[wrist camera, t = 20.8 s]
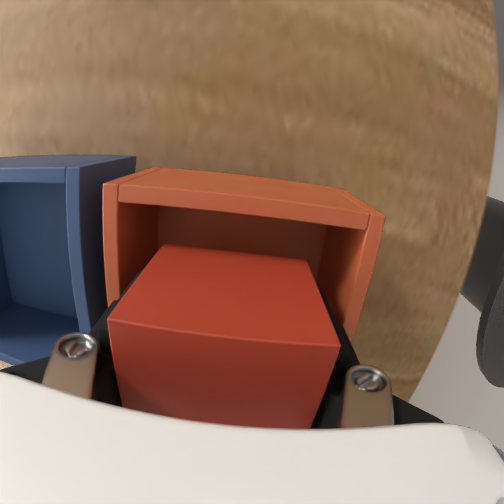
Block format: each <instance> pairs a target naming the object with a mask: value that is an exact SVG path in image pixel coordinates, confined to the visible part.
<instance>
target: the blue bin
mask: <svg viewBox="0 0 504 504" xmlns="http://www.w3.org/2000/svg"><path fill="white" fill-rule="evenodd" d="M135 165H136V156H121V155H39V156H16V157H0V360H2V361H4V362H7V363H9V364H11V365H14V366H15V365H19V364H23V363H27V362H30V361H34V360H38V359H41V358H45V357H49V356H50V355H51V352H52V349H53V346H54V344H55V342H56V340H58V339H59V338H60V337H61V336H63V335H65V334H68V333H72V332H83V333H87V334H89V333H90V331H91V330H92V328H93V327H94V326H95V324H96V323H97V322H98V320H99V319H100V318H101V316H102V315H103V314H104V312H105V311H106V310H107V308H108V302H107V291H106V279H105V265H104V246H103V184H104V183H106V182H109V181H112V180H115V179H118V178H121V177H124V176H127V175H130V174H133V173H135Z"/></svg>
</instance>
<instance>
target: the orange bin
mask: <svg viewBox="0 0 504 504" xmlns="http://www.w3.org/2000/svg"><path fill="white" fill-rule="evenodd" d="M385 218H386V216H385V215H383V214H382V213H380V212H379V211H377V210H376V209H374V208H372V207H371V206H369V205H368V204H366V203H364V202H363V201H361V200H359V199H358V198H356V197H354V196H353V195H351V194H349V193H348V192H346V191H345V190H343V189H340V188H334V187H328V186H321V185H315V184H308V183H301V182H295V181H287V180H280V179H272V178H265V177H256V176H248V175H239V174H230V173H220V172H210V171H199V170H187V169H174V168H159V167H152V168H149V169H146V170H143V171H140V172H136V173H133V174H130V175H127V176H124V177H121V178H118V179H115V180H112V181H109V182H106V183H104V184H103V246H104V265H105V279H106V291H107V302H108V307H109V306H110V304H111V303H112V302H113V301H114V300H118V299H119V297H120V296H121V295H122V293H123V292H124V291H125V289H126V288H127V287H128V286H129V284H130V283H131V282H132V280H133V279H134V278H135V276H136V275H137V274H138V273H139V271H140V270H144V268H145V267H146V266H147V265H148V263H149V262H150V261H151V259H152V258H153V257H154V256H155V254H156V253H157V252H158V251H159V249H160V248H161V247H162V246H163V244H173V245H182V246H191V247H199V248H208V249H217V250H226V251H235V252H244V253H253V254H261V255H270V256H279V257H288V258H297V259H305V260H306V261H307V263H308V265H309V268H310V270H311V272H312V275H313V277H314V280H315V282H316V284H317V287H318V289H319V290H320V291H324V293H325V295H326V298H327V300H328V302H329V305H330V307H331V309H332V311H333V314H334V316H335V319H336V321H337V323H338V325H341V326H343V327H344V329H345V331H346V333H347V335H348V338H349V340H350V342H352V339H353V336H354V333H355V330H356V326H357V323H358V320H359V317H360V314H361V311H362V307H363V304H364V301H365V297H366V294H367V290H368V287H369V283H370V280H371V276H372V272H373V268H374V265H375V261H376V257H377V253H378V249H379V245H380V241H381V236H382V232H383V228H384V223H385Z"/></svg>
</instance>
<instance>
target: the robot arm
mask: <svg viewBox="0 0 504 504" xmlns="http://www.w3.org/2000/svg"><path fill="white" fill-rule="evenodd" d="M142 271H143V270H140V271H139V273H138V274H137V275H136V276H135V278H134V279H133V280H132V282H131V283H130V284H129V286H128V287H127V288H126V289H125V291H124V292H123V293H122V295H121V296H120V297H119V299H118V300H114V301H113V302H112V303H111V304H110V306H109V307H108V308H107V310H106V311H105V312H104V314H103V315H102V316H101V318H100V319H99V320H98V322H97V323H96V324H95V326H94V327H93V328H92V330H91V331H90V333H89V334H87V333H83V332H72V333H68V334H65V335H63V336H61V337H60V338H59V339H58V340H56V342H55V344H54V346H53V349H52V352H51V355H50V356H49V357H45V358H41V359H38V360H34V361H30V362H27V363H23V364H19V365H15V366H12V367H8V368H4V369H2V370H0V504H504V452H502V450H501V449H500V448H498V447H496V446H494V445H492V444H491V443H490V442H489V441H488V440H487V438H486V437H485V436H483V435H482V434H481V433H479V432H478V431H476V430H474V429H471V428H468V427H465V426H460V425H454V424H448V423H444V422H443V421H442V420H440V419H439V418H437V417H435V416H433V415H431V414H429V413H427V412H425V411H423V410H421V409H419V408H417V407H415V406H413V405H411V404H409V403H408V402H406V401H404V400H402V399H400V398H398V397H396V396H394V395H392V386H391V381H390V378H389V377H388V375H387V374H386V373H385V372H383V371H382V370H381V369H379V368H377V367H374V366H371V365H364V364H361V365H360V363H359V361H358V359H357V356H356V354H355V352H354V349H353V347H352V345H351V342H350V340H349V338H348V335H347V333H346V331H345V329H344V327H343V326H341V325H338V323H337V321H336V319H335V316H334V314H333V311H332V309H331V307H330V305H329V302H328V300H327V298H326V295H325V293H324V291H320V290H319V292H320V294H321V297H322V299H323V301H324V304H325V306H326V309H327V311H328V314H329V316H330V319H331V321H332V324H333V326H334V329H335V331H336V334H337V336H338V339H339V342H340V344H341V347H340V350H339V353H338V356H337V359H336V362H335V365H334V368H333V371H332V373H331V376H330V379H329V382H328V385H327V387H326V390H325V393H324V395H323V398H322V401H321V403H320V406H319V408H318V411H317V413H316V416H315V418H314V421H313V423H312V426H311V428H310V429H288V428H265V427H249V426H237V425H226V424H217V423H209V422H201V421H194V420H187V419H180V418H174V417H168V416H163V415H157V414H152V413H147V412H142V411H137V410H132V409H128V408H123V407H122V402H121V398H120V393H119V388H118V383H117V378H116V373H115V368H114V362H113V356H112V350H111V344H110V337H109V330H108V322H107V318H108V317H109V315H110V314H111V312H112V311H113V310H114V308H115V307H116V306H117V304H118V303H119V302H120V300H121V299H122V297H123V296H124V295H125V293H126V292H127V291H128V289H129V288H130V287H131V285H132V284H133V283H134V281H135V280H136V279H137V278H138V276H139V275H140V274H141V272H142Z"/></svg>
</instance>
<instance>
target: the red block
mask: <svg viewBox="0 0 504 504" xmlns="http://www.w3.org/2000/svg"><path fill="white" fill-rule="evenodd" d="M107 322H108V330H109V337H110V344H111V350H112V356H113V362H114V368H115V373H116V378H117V383H118V388H119V393H120V398H121V402H122V407H123V408H128V409H132V410H137V411H142V412H147V413H152V414H157V415H163V416H168V417H174V418H180V419H187V420H194V421H201V422H209V423H217V424H226V425H237V426H249V427H265V428H288V429H310V428H311V426H312V423H313V421H314V418H315V416H316V413H317V411H318V408H319V406H320V403H321V401H322V398H323V395H324V393H325V390H326V387H327V385H328V382H329V379H330V376H331V373H332V371H333V368H334V365H335V362H336V359H337V356H338V353H339V350H340V347H341V344H340V342H339V339H338V336H337V334H336V331H335V329H334V326H333V324H332V321H331V319H330V316H329V314H328V311H327V309H326V306H325V304H324V301H323V299H322V297H321V294H320V292H319V289H318V287H317V284H316V282H315V280H314V277H313V275H312V272H311V270H310V268H309V265H308V263H307V261H306V260H305V259H297V258H288V257H279V256H270V255H261V254H253V253H244V252H235V251H226V250H217V249H208V248H199V247H191V246H182V245H173V244H163V246H162V247H161V248H160V249H159V251H158V252H157V253H156V254H155V256H154V257H153V258H152V259H151V261H150V262H149V263H148V265H147V266H146V267H145V268H144V270H143V271H142V272H141V274H140V275H139V276H138V278H137V279H136V280H135V281H134V283H133V284H132V285H131V287H130V288H129V289H128V291H127V292H126V293H125V295H124V296H123V297H122V299H121V300H120V302H119V303H118V304H117V306H116V307H115V308H114V310H113V311H112V312H111V314H110V315H109V317H108V318H107Z"/></svg>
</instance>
